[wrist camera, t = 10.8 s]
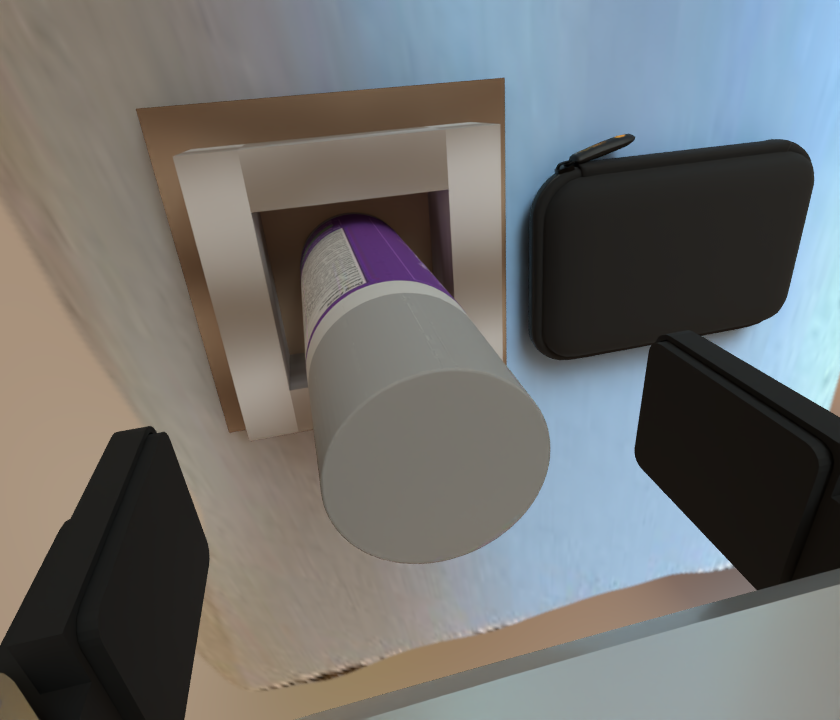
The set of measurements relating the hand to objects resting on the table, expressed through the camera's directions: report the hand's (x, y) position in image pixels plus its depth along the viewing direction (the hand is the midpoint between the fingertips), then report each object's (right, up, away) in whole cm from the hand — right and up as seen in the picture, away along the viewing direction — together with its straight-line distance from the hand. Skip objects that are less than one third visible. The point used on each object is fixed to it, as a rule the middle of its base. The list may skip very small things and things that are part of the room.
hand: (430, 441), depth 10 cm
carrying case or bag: (+12, +8, +18) cm, 23 cm away
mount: (-3, +6, +14) cm, 16 cm away
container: (-3, +6, +13) cm, 15 cm away
